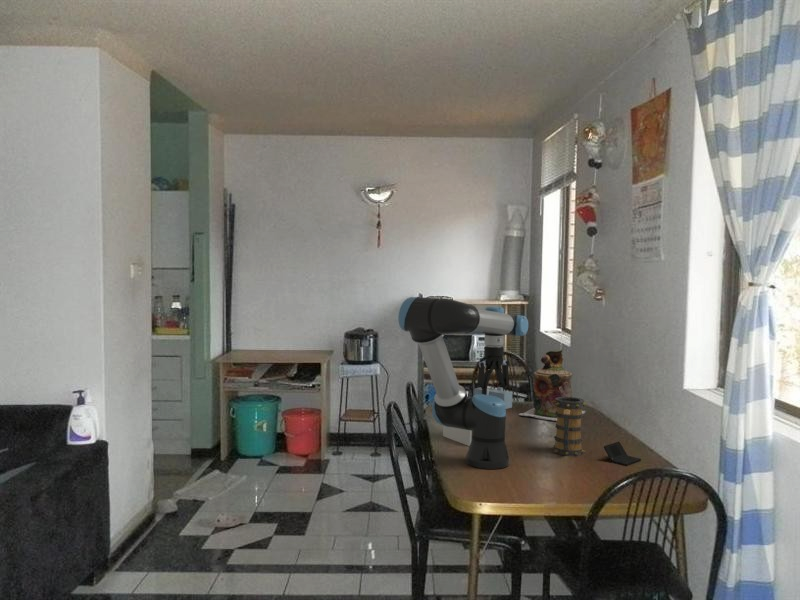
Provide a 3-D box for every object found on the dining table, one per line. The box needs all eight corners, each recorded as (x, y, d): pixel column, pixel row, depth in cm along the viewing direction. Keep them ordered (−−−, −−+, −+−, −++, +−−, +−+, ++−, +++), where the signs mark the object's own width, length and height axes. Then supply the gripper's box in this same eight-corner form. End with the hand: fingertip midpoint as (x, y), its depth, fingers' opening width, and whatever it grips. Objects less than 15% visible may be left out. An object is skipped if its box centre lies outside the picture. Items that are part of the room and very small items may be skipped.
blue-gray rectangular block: (504, 409, 254) (504, 393, 253) (474, 403, 265) (474, 388, 264) (512, 407, 257) (512, 392, 257) (482, 401, 268) (482, 387, 268)
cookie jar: (538, 408, 330) (540, 344, 329) (586, 415, 316) (588, 349, 314) (517, 416, 310) (518, 348, 309) (567, 424, 296) (569, 353, 294)
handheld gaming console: (632, 463, 230) (617, 437, 235) (615, 472, 234) (600, 447, 238) (643, 460, 239) (628, 436, 244) (626, 470, 243) (612, 445, 247)
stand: (469, 446, 254) (470, 427, 254) (442, 436, 269) (443, 418, 269) (497, 442, 261) (498, 423, 261) (470, 432, 277) (470, 415, 276)
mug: (586, 449, 253) (588, 397, 252) (583, 461, 237) (585, 406, 236) (552, 446, 257) (554, 395, 256) (546, 457, 241) (548, 403, 240)
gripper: (479, 348, 252) (478, 408, 253) (519, 345, 261) (518, 403, 262) (468, 345, 259) (467, 404, 260) (507, 343, 267) (506, 400, 268)
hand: (492, 404), depth 261 cm, fingers closed on blue-gray rectangular block, 6 cm apart
